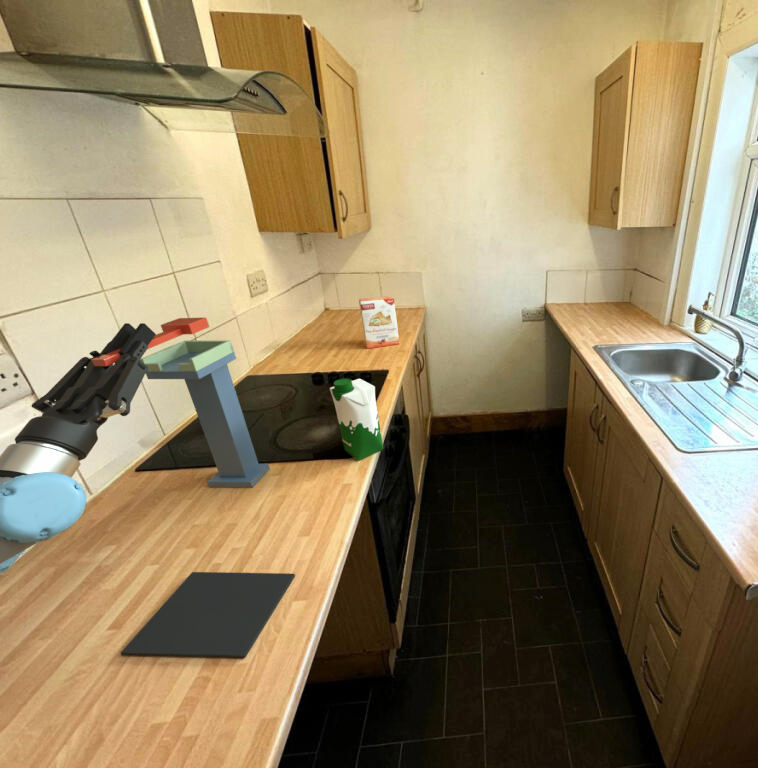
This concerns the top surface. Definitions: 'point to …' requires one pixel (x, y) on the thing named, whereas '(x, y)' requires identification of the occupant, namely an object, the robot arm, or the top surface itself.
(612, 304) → the top surface
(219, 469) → the stand
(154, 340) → the red toy mallet
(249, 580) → the mat
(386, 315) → the cracker box
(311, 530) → the top surface
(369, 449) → the milk carton
